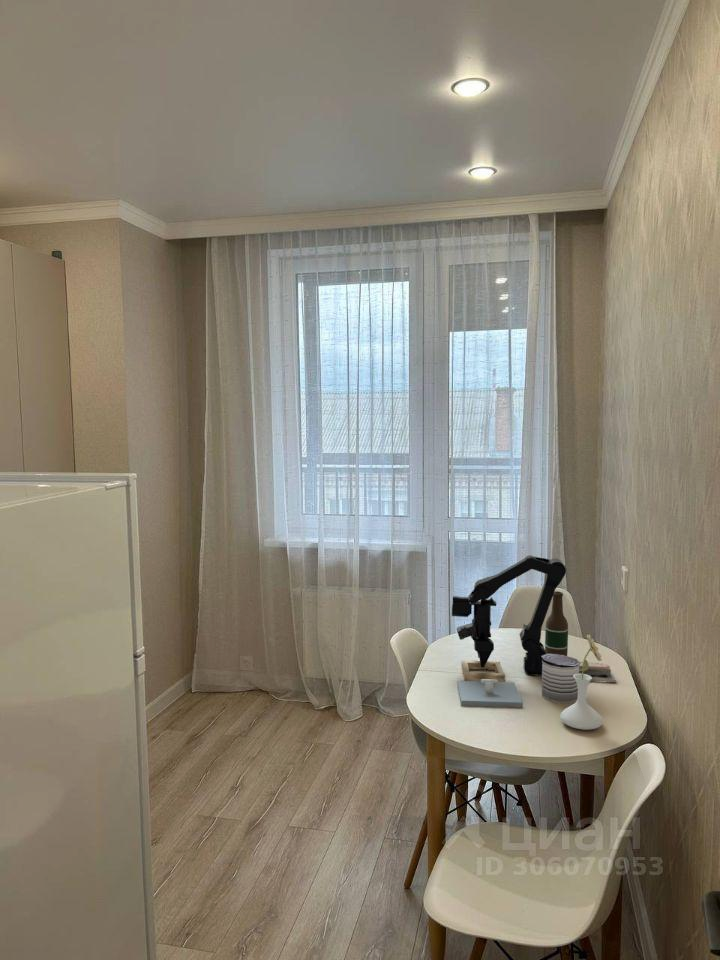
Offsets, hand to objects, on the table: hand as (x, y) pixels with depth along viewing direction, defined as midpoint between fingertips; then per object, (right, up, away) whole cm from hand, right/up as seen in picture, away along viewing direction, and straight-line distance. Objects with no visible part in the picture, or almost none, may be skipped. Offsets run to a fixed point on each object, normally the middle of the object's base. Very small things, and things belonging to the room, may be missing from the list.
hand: (481, 662), depth 238 cm
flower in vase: (+21, -6, -43) cm, 48 cm away
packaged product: (+34, -4, -6) cm, 34 cm away
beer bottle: (+29, -2, +12) cm, 31 cm away
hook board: (-2, -4, -24) cm, 25 cm away
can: (+20, -5, -23) cm, 31 cm away
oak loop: (0, -3, -5) cm, 6 cm away
